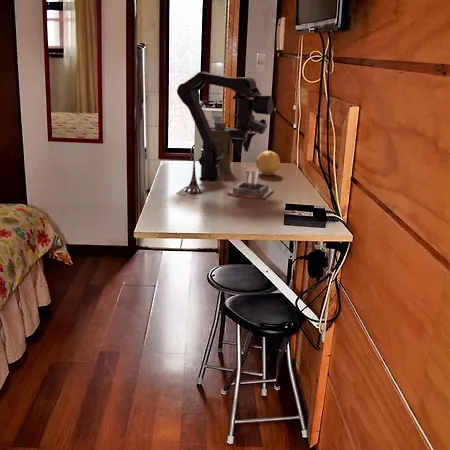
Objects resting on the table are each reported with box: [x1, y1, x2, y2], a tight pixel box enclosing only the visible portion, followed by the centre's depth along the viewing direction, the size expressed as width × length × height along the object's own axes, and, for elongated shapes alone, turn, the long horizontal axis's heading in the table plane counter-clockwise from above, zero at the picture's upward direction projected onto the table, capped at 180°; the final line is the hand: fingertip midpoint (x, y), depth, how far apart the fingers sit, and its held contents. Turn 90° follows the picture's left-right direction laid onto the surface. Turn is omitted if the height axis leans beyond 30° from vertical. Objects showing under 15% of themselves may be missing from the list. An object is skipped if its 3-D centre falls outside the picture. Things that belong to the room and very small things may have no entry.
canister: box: [210, 121, 233, 173], centre depth 238 cm, size 11×10×20 cm
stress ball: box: [255, 150, 281, 176], centre depth 234 cm, size 10×10×10 cm
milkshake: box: [244, 165, 260, 190], centre depth 205 cm, size 4×5×10 cm
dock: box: [226, 181, 274, 200], centre depth 207 cm, size 14×12×3 cm
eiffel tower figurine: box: [175, 160, 204, 200], centre depth 203 cm, size 15×10×13 cm
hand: (243, 153), depth 215 cm, fingers open, 9 cm apart
